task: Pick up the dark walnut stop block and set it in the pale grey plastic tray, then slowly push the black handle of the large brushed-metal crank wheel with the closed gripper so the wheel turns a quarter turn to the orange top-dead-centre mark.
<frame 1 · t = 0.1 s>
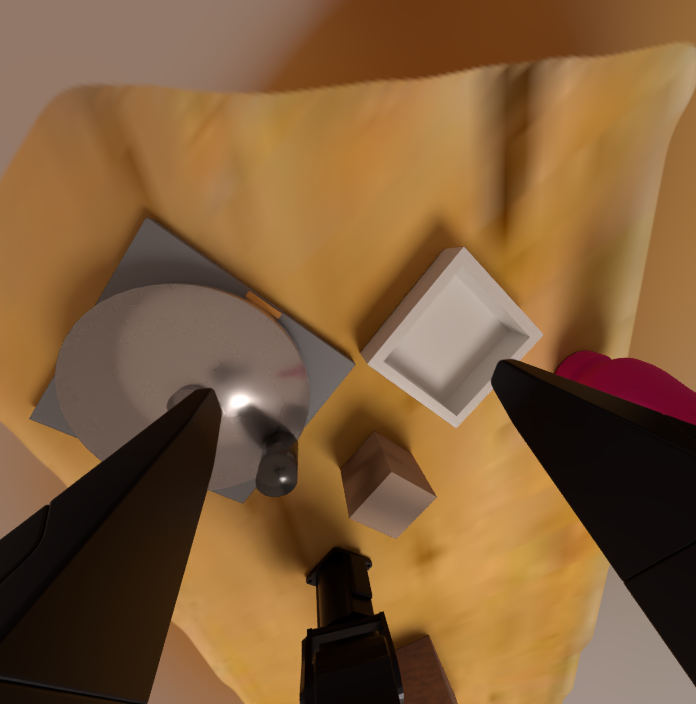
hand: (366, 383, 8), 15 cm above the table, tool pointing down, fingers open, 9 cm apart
tray: (442, 339, 25), on the table
crank: (191, 410, 19), point 4 cm above the table, hinge at -90.0°
crank board: (208, 384, 23), on the table
stop block: (376, 460, 29), on the table
pepper mill: (573, 374, 30), on the table
tissue box cover: (406, 680, 47), on the table
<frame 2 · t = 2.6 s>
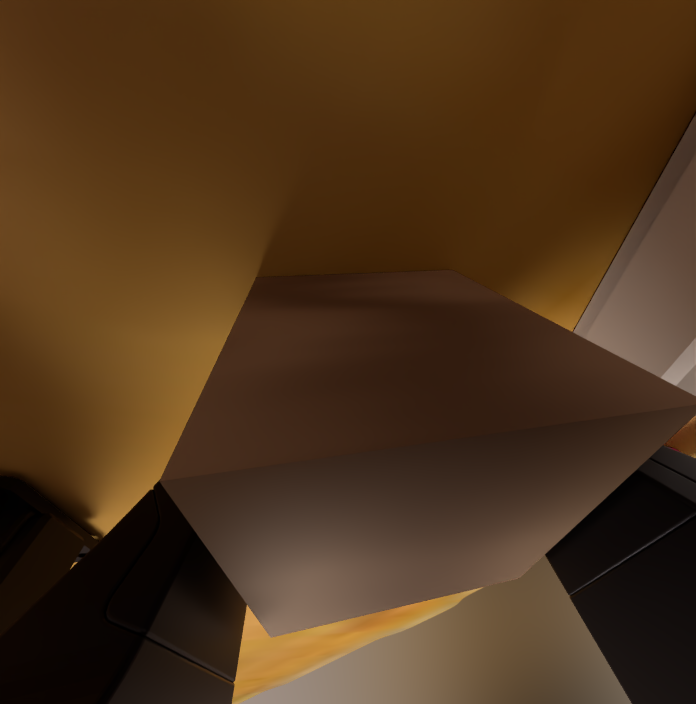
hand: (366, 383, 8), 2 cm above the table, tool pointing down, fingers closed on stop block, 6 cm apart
stop block: (357, 356, 9), on the table, touching gripper
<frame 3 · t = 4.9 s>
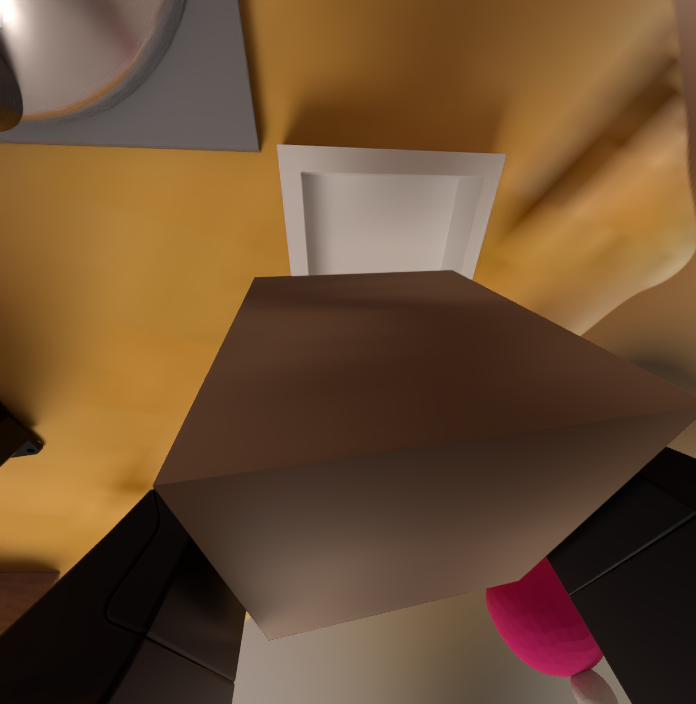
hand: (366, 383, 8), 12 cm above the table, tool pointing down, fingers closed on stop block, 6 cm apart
tray: (375, 261, 18), on the table
stop block: (356, 356, 9), point 11 cm above the table, touching gripper
pepper mill: (424, 413, 29), on the table
when the fingers open (4 cm above the table, at t = 7.1 s): stop block drops 2 cm, resting on tray.
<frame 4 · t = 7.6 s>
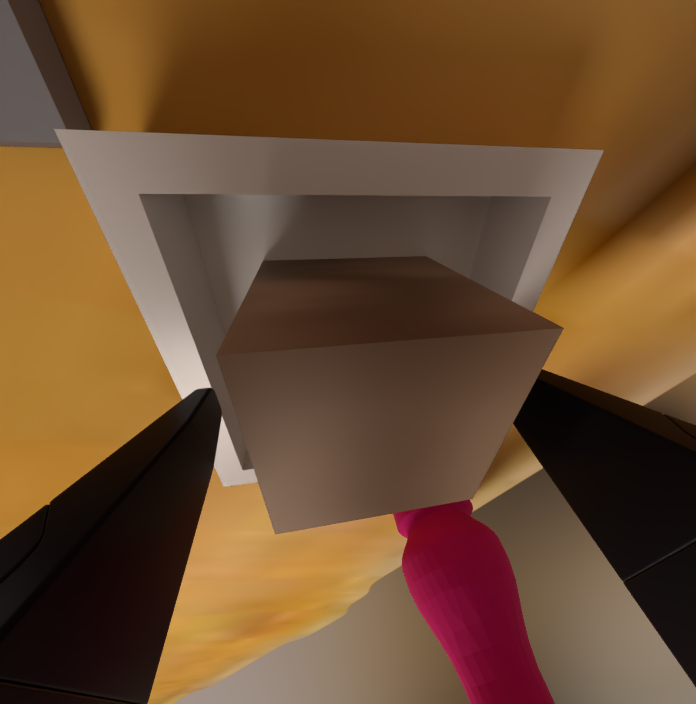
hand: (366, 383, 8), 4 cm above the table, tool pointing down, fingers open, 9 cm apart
tray: (347, 326, 11), on the table
stop block: (347, 331, 11), resting on tray
pepper mill: (425, 496, 22), on the table
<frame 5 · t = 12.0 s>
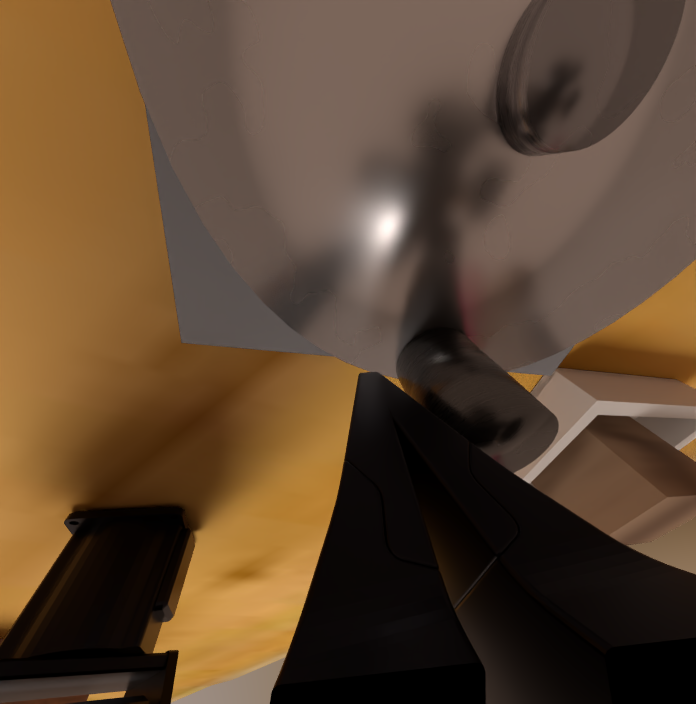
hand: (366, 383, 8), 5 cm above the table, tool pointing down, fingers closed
tray: (562, 433, 20), on the table
crank: (599, 69, 5), point 4 cm above the table, hinge at -89.0°, touching gripper
crank board: (479, 109, 8), on the table
stop block: (567, 438, 20), resting on tray
tissue box cover: (1, 667, 30), on the table
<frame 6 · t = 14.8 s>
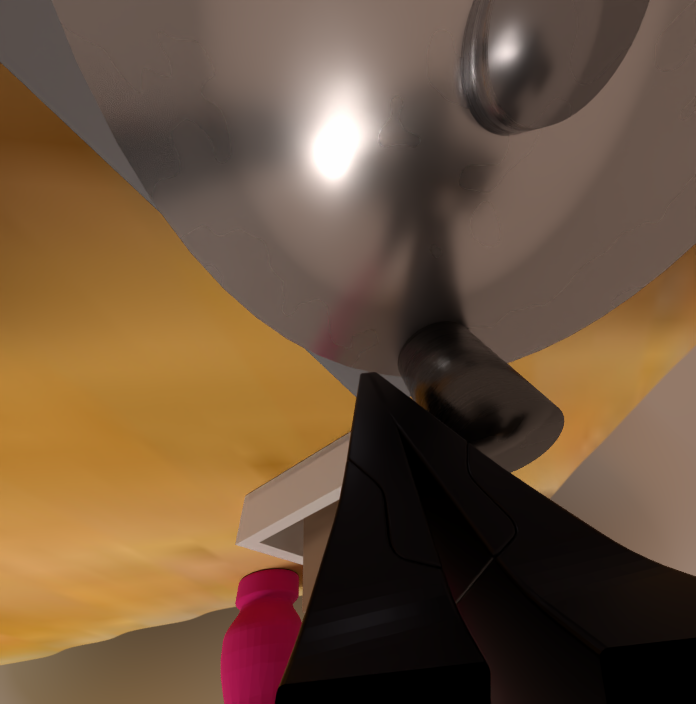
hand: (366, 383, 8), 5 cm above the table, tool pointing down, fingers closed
tray: (358, 489, 20), on the table
crank: (567, 34, 5), point 4 cm above the table, hinge at -40.2°, touching gripper
crank board: (456, 91, 8), on the table
stop block: (359, 495, 19), resting on tray
pepper mill: (269, 577, 27), on the table
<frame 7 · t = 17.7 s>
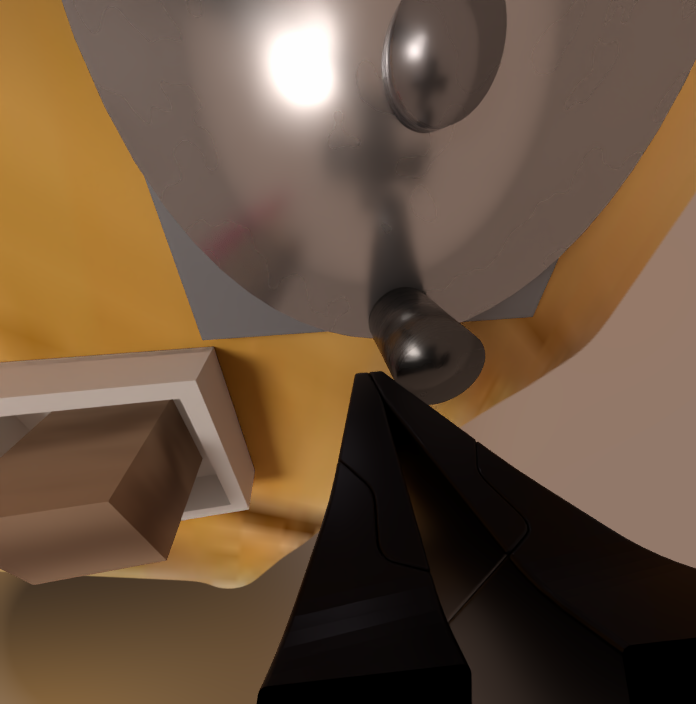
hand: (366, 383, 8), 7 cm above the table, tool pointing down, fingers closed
tray: (142, 431, 16), on the table
crank: (449, 61, 6), point 4 cm above the table, hinge at 0.5°
crank board: (396, 97, 10), on the table
stop block: (138, 436, 16), resting on tray
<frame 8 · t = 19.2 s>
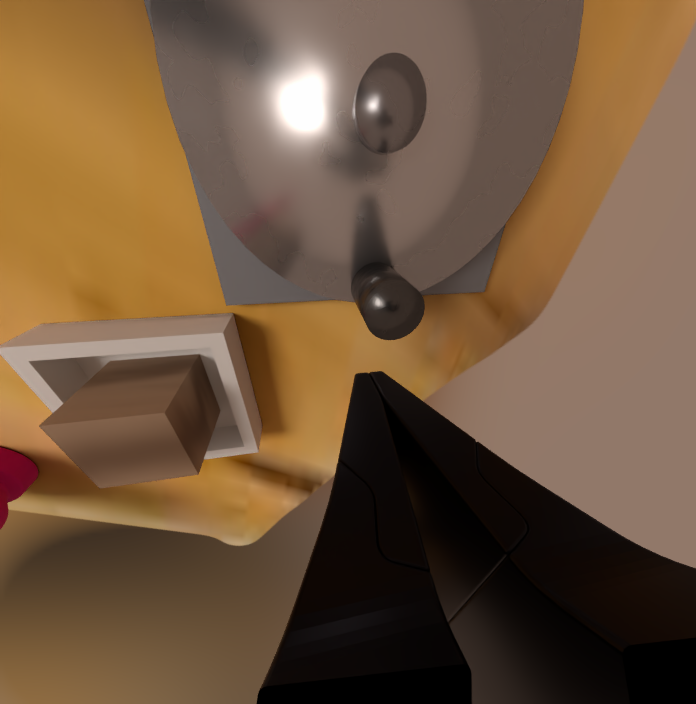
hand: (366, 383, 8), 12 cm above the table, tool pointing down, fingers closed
tray: (173, 385, 21), on the table
crank: (392, 113, 10), point 4 cm above the table, hinge at 0.5°
crank board: (368, 126, 14), on the table
stop block: (171, 388, 20), resting on tray
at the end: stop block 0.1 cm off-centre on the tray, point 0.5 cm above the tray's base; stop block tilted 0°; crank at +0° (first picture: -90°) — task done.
